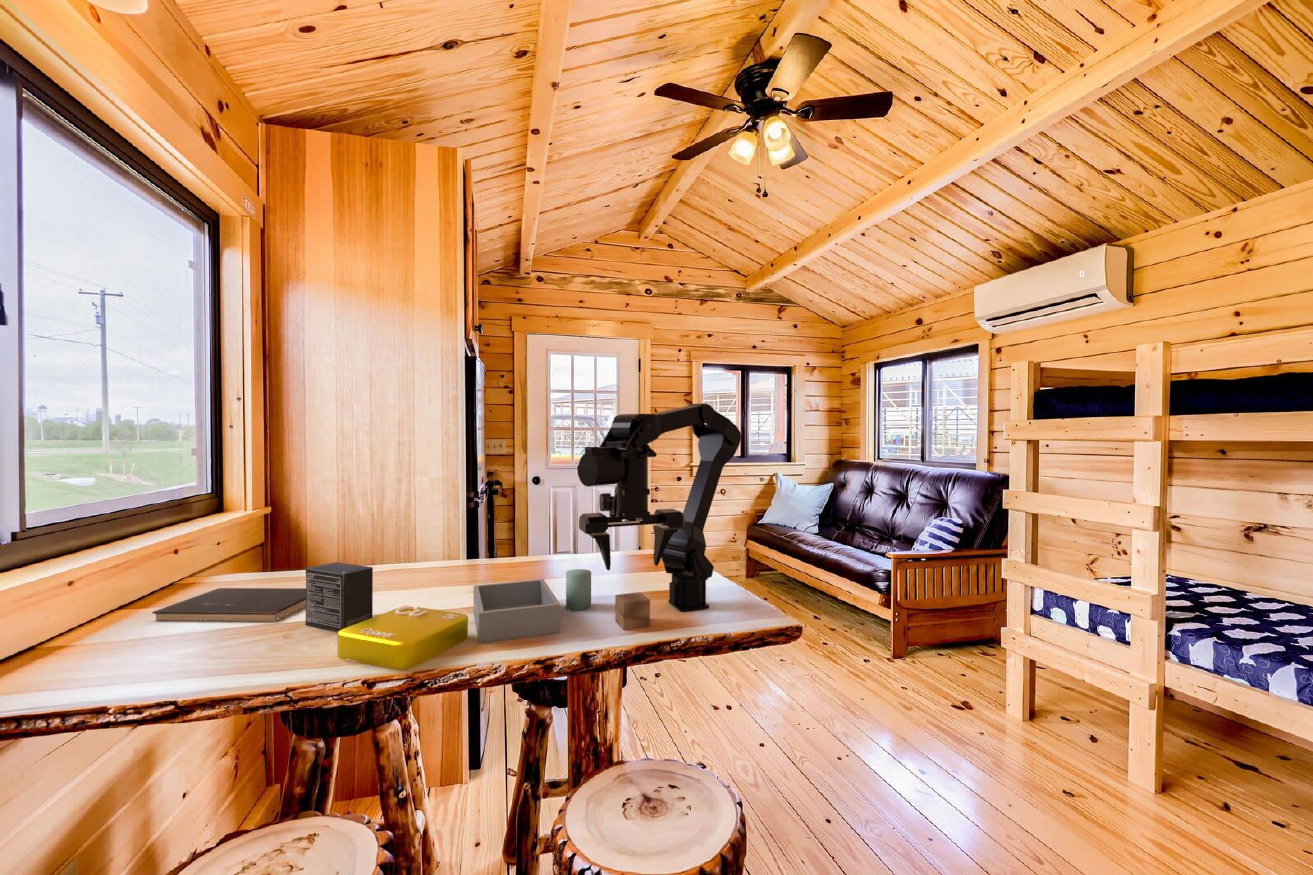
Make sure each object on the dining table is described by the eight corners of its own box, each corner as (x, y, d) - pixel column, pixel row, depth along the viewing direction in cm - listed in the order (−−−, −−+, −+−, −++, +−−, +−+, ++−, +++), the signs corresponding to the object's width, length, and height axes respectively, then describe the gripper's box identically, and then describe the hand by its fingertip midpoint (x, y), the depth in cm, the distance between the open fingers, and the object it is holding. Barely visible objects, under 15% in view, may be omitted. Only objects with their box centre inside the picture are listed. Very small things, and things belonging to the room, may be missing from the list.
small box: (375, 622, 103) (375, 565, 103) (342, 634, 97) (342, 574, 97) (337, 614, 107) (337, 560, 107) (303, 625, 101) (303, 567, 101)
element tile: (331, 659, 87) (331, 629, 87) (405, 627, 101) (405, 601, 101) (405, 675, 82) (405, 642, 82) (473, 639, 96) (473, 611, 96)
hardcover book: (274, 625, 103) (274, 612, 103) (152, 624, 103) (152, 611, 103) (327, 598, 119) (327, 587, 119) (221, 597, 119) (221, 587, 119)
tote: (543, 603, 114) (543, 579, 114) (560, 632, 98) (560, 604, 98) (473, 611, 109) (473, 585, 109) (479, 643, 93) (479, 613, 93)
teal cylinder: (587, 602, 115) (587, 568, 115) (593, 609, 110) (594, 574, 110) (563, 604, 113) (563, 570, 113) (568, 612, 109) (568, 576, 108)
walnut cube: (640, 618, 105) (640, 592, 105) (649, 627, 101) (650, 599, 101) (615, 621, 104) (615, 595, 103) (623, 630, 99) (623, 602, 99)
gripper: (663, 477, 113) (663, 554, 113) (572, 480, 106) (572, 562, 106) (685, 482, 102) (685, 566, 102) (586, 486, 96) (586, 576, 96)
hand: (632, 567), depth 102 cm, fingers open, 9 cm apart
